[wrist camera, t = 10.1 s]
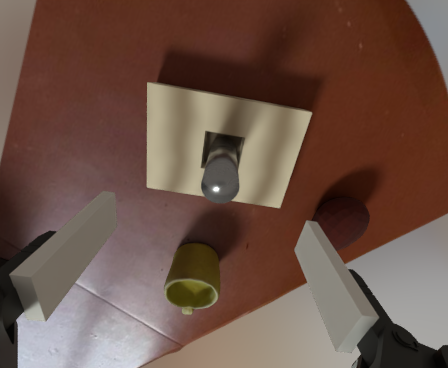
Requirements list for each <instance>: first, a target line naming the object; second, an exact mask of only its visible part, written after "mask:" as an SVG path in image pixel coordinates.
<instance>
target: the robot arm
mask: <svg viewBox="0 0 448 368" xmlns="http://www.w3.org/2000/svg"><path fill="white" fill-rule="evenodd" d="M116 227H117V215H116V201H115V193H114V192H107V191H102V192H101V193H100V194H99V195H98V196H97V197H96V198H95V199H93V200H92V201H91V202H90V203H89V204H88V205H87V206H86V207H84V208H83V209H82V210H81V211H80V212H79V213H78V214H77V215H75V216H74V217H73V218H72V219H71V220H70V221H69V222H68V223H66V224H65V225H64V226H63V227H62V228H61V229H60V230H59V231H57V232H56V231H48V232H46V233H44V234H42V235H40V236H38V237H37V238H36V239H35V240H33V241H32V242H31V243H30V244H29V245H28V246H26V247H25V248H24V249H22V250H21V252H19V253H18V254H16V255H15V256H14V257H13V258H12V259H10V260H9V261H6V260H3V259H0V368H18V324H17V322H16V319H17V318H18V317H19V316H20V315H21V314H22V313H23V312H24V313H25V316H26V318H27V320H35V321H44V322H46V321H47V319H48V318H49V317H50V315H51V314H52V313H53V311H54V310H55V309H56V307H57V306H58V305H59V303H60V302H61V301H62V299H63V298H64V297H65V295H66V294H67V293H68V291H69V290H70V289H71V287H72V286H73V285H74V283H75V282H76V281H77V279H78V278H79V277H80V275H81V274H82V273H83V271H84V270H85V269H86V267H87V266H88V265H89V263H90V262H91V261H92V259H93V258H94V257H95V255H96V254H97V253H98V251H99V250H100V249H101V247H102V246H103V245H104V243H105V242H106V241H107V239H108V238H109V237H110V235H111V234H112V233H113V231H114V230H115V229H116ZM295 253H296V255H297V258H298V260H299V263H300V265H301V268H302V270H303V272H304V275H305V277H306V280H307V282H308V285H309V287H310V290H311V292H312V294H313V297H314V299H315V302H316V304H317V307H318V309H319V311H320V314H321V316H322V319H323V321H324V324H325V326H326V329H327V331H328V333H329V336H330V338H331V341H332V343H333V346H334V348H335V351H337V352H347V353H352V351H353V350H354V349H355V348H356V346H357V347H358V349H359V351H360V352H361V355H360V356H359V358H358V359H357V360H356V361H355V362H354V363H353V365H352V368H355V367H356V366H357V367H356V368H448V345H443V346H442V347H441V348H440V349H439V350H435V349H433V348H430V347H428V346H425V345H423V344H420V343H418V341H417V340H416V339H415V338H414V337H413V336H412V334H411V333H410V332H408V331H407V330H406V329H404V328H403V327H401V326H399V325H397V324H394V323H393V322H392V321H391V319H390V318H389V316H388V315H387V313H386V312H385V310H384V309H383V308H382V306H381V305H380V303H379V302H378V300H377V299H376V298H375V296H374V295H373V293H372V292H371V290H370V289H369V288H368V286H367V285H366V283H365V282H364V280H363V279H362V278H361V277H360V276H359V275H358V274H357V273H356V272H355V271H354V270H351V269H347V267H346V266H345V264H344V263H343V261H342V259H341V258H340V256H339V255H338V253H337V252H336V250H335V249H334V247H333V246H332V244H331V243H330V241H329V240H328V238H327V237H326V235H325V233H324V232H323V230H322V229H321V227H320V226H319V224H318V223H317V222H314V221H306V223H305V225H304V228H303V230H302V233H301V235H300V238H299V240H298V242H297V245H296V247H295Z"/></svg>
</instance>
